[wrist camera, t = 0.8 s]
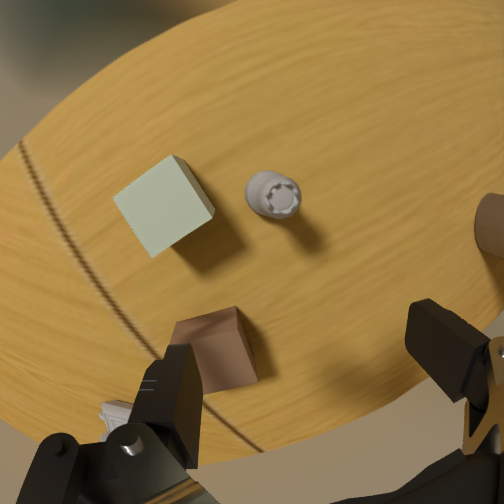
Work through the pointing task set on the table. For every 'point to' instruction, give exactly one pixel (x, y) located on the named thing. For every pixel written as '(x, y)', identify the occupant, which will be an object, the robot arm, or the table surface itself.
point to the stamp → (114, 415)
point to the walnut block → (219, 349)
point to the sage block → (164, 205)
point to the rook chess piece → (273, 195)
